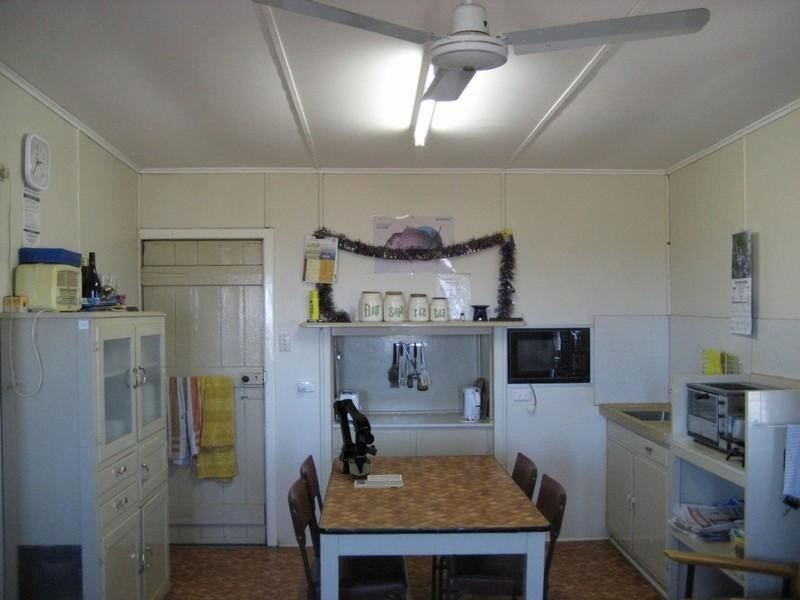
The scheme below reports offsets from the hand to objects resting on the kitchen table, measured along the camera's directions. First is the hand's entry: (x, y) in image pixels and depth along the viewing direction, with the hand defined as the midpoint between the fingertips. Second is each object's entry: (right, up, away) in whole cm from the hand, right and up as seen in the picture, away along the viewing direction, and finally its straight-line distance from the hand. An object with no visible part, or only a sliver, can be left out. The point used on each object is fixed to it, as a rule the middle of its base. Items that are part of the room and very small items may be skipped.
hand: (360, 471), depth 332 cm
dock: (+9, -3, -11) cm, 15 cm away
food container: (0, -4, 0) cm, 4 cm away
